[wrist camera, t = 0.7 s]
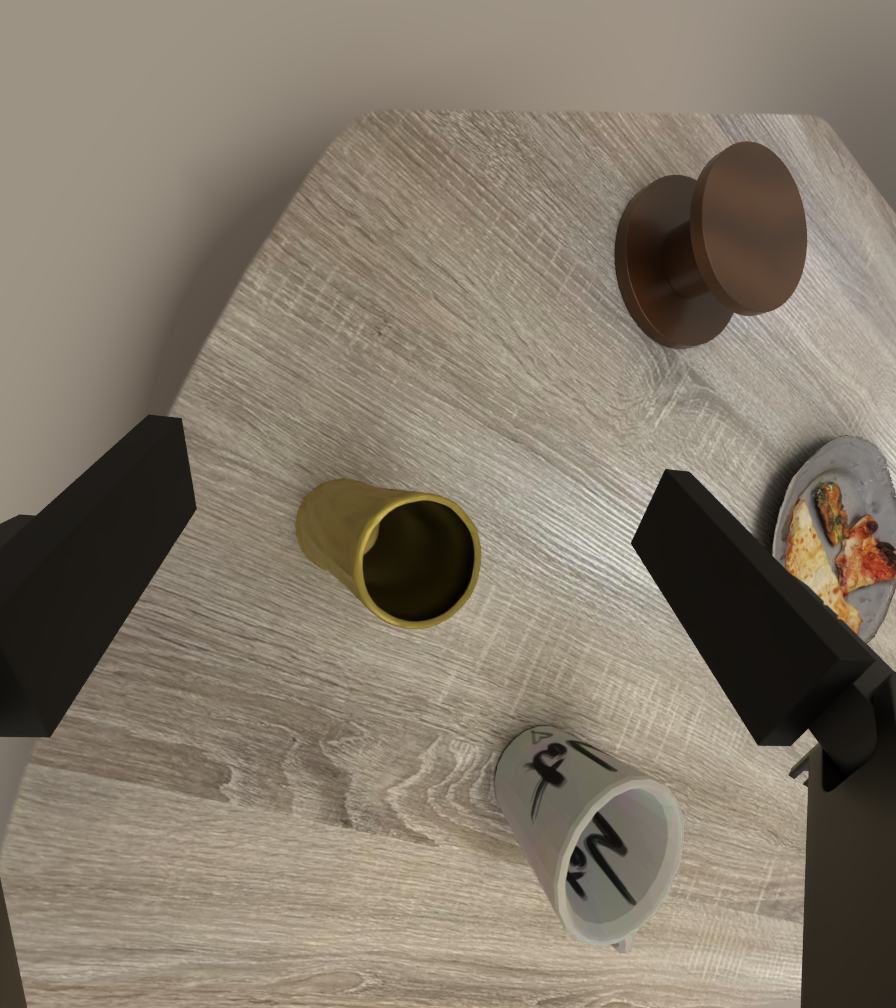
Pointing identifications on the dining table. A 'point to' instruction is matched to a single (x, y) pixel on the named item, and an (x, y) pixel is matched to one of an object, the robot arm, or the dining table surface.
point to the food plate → (842, 531)
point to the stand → (711, 246)
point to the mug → (591, 833)
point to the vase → (392, 549)
